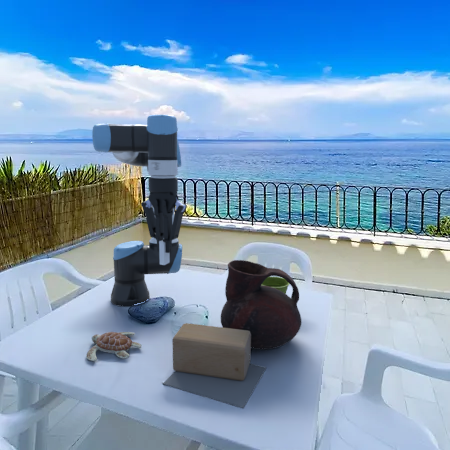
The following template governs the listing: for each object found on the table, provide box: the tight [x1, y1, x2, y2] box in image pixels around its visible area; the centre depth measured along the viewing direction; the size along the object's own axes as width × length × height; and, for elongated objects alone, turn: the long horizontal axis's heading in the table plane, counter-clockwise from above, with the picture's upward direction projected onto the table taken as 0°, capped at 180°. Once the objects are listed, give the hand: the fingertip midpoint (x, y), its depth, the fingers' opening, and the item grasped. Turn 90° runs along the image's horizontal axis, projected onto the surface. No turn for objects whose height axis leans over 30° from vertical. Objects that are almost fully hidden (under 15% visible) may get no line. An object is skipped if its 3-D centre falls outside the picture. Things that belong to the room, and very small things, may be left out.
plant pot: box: [261, 276, 290, 295], centre depth 140 cm, size 12×12×11 cm
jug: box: [220, 259, 302, 350], centre depth 115 cm, size 25×25×25 cm
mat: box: [162, 363, 267, 409], centre depth 98 cm, size 18×22×1 cm
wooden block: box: [172, 322, 252, 381], centre depth 101 cm, size 10×10×20 cm
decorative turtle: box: [85, 331, 143, 362], centre depth 112 cm, size 18×17×5 cm
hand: (164, 263), depth 101 cm, fingers closed
